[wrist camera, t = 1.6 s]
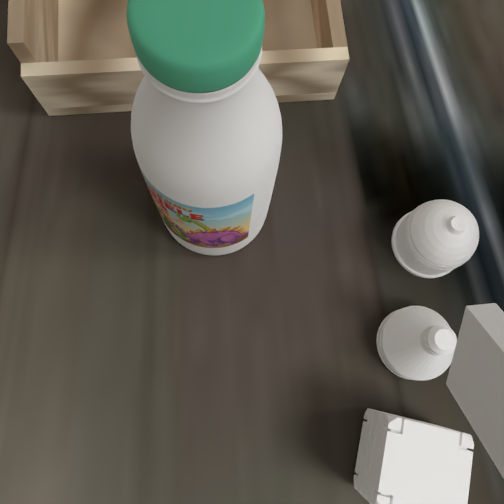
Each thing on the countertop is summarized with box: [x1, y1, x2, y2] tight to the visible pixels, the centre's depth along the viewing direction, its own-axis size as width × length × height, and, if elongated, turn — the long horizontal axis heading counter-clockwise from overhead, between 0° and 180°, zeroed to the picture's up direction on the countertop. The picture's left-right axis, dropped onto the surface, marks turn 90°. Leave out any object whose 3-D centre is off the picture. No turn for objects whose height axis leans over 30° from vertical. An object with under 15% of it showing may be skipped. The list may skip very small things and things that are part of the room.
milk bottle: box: [127, 0, 282, 255], centre depth 25 cm, size 8×8×20 cm
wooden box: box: [7, 0, 349, 116], centre depth 34 cm, size 22×13×7 cm, turn 95°
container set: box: [354, 199, 479, 504], centre depth 30 cm, size 20×5×6 cm, turn 167°
